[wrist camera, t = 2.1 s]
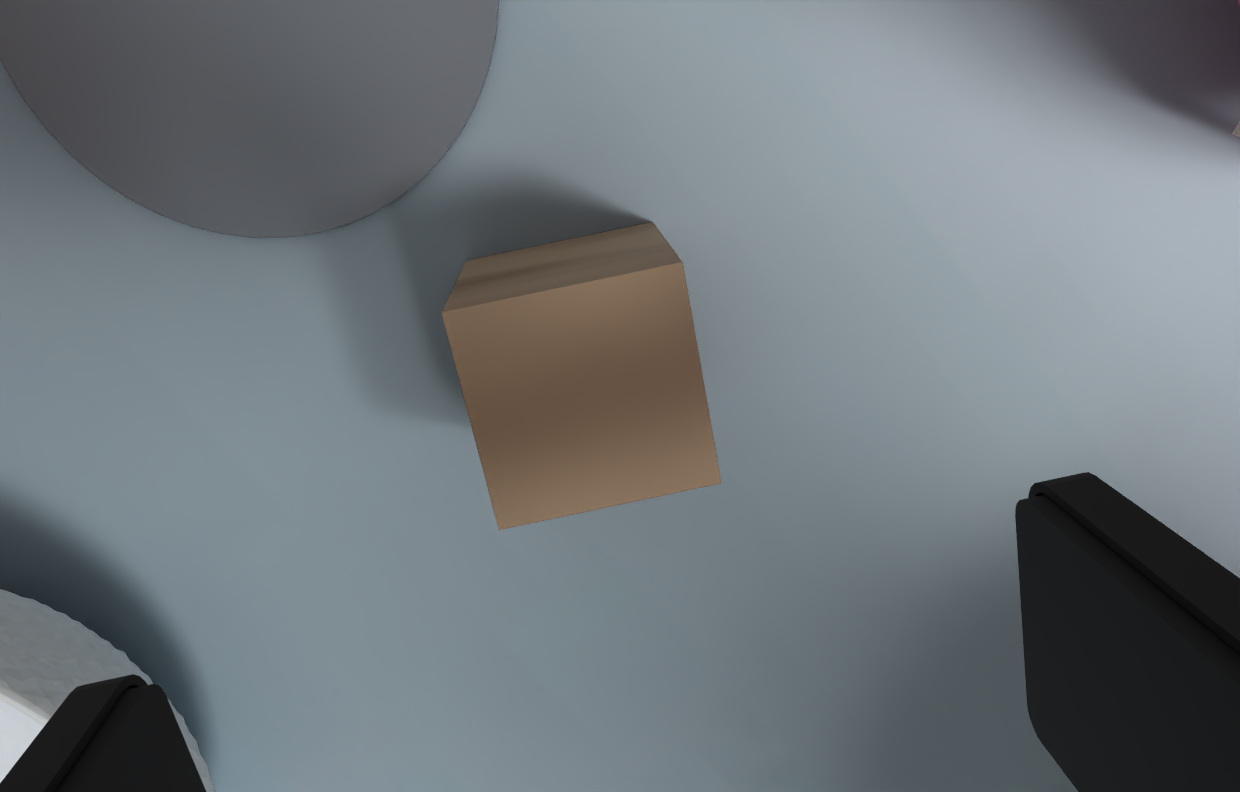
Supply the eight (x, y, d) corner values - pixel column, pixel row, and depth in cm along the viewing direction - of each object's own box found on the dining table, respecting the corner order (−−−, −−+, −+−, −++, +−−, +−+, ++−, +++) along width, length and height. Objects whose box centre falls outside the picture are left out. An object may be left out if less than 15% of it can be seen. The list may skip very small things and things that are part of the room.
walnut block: (684, 397, 27) (721, 483, 21) (509, 434, 26) (499, 530, 21) (652, 221, 25) (682, 261, 19) (466, 260, 25) (441, 312, 19)
